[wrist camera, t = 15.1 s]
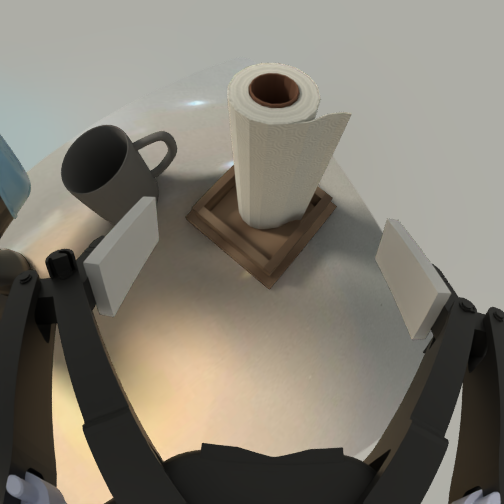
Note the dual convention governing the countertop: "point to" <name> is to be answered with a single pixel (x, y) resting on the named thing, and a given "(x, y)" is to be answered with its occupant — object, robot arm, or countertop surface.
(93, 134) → the mug
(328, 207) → the wooden tray
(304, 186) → the paper towel roll
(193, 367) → the countertop surface
